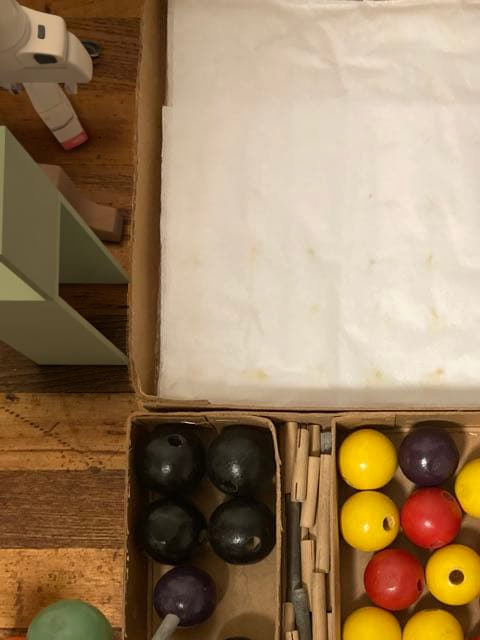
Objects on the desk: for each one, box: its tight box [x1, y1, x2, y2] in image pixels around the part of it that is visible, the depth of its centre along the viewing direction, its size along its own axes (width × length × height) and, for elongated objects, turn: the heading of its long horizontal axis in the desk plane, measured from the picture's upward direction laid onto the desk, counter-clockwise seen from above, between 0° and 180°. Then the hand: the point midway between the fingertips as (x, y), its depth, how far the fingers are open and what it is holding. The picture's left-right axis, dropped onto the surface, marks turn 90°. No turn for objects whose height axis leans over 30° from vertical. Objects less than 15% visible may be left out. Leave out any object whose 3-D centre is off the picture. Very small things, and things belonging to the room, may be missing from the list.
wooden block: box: [36, 162, 125, 243], centre depth 142 cm, size 9×4×18 cm, turn 83°
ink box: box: [21, 83, 89, 151], centre depth 146 cm, size 9×5×12 cm, turn 27°
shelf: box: [0, 125, 131, 366], centre depth 126 cm, size 16×16×49 cm
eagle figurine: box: [79, 40, 101, 57], centre depth 150 cm, size 8×7×9 cm
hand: (45, 90), depth 142 cm, fingers open, 8 cm apart
